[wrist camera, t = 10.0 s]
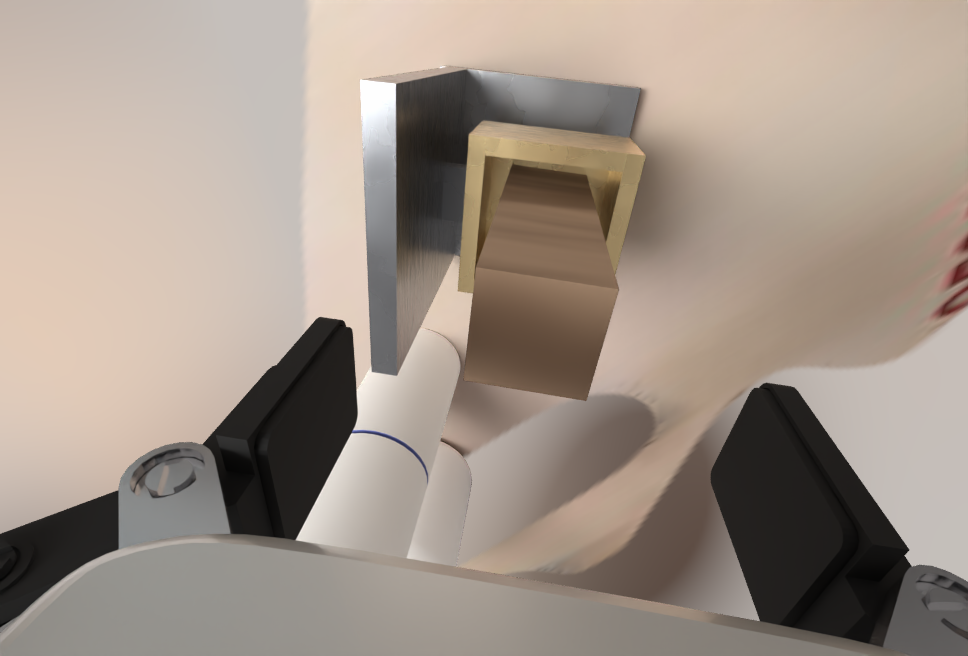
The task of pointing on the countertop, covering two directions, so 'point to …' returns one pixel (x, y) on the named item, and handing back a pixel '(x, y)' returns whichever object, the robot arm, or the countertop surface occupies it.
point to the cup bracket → (474, 176)
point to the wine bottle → (443, 510)
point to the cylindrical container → (388, 454)
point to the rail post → (541, 288)
